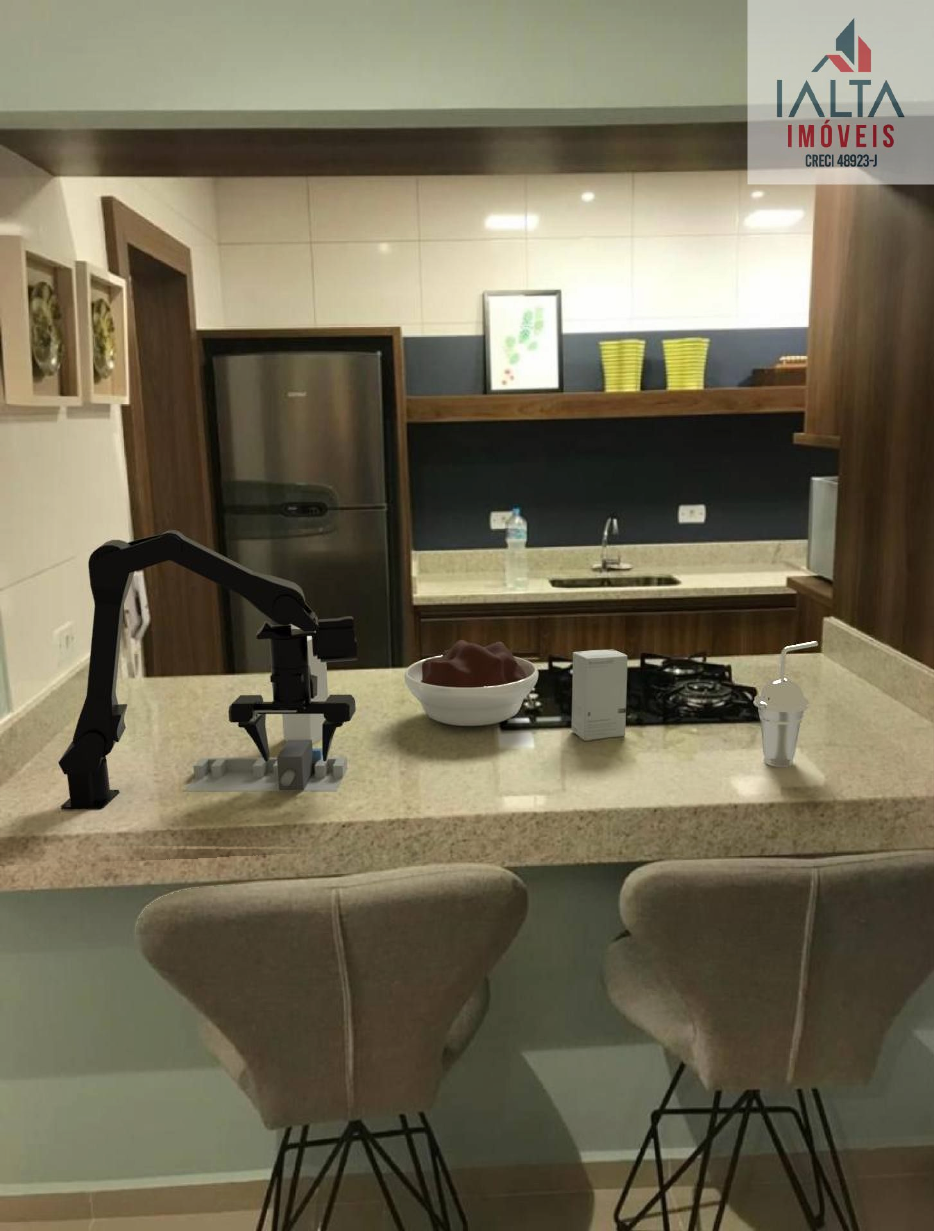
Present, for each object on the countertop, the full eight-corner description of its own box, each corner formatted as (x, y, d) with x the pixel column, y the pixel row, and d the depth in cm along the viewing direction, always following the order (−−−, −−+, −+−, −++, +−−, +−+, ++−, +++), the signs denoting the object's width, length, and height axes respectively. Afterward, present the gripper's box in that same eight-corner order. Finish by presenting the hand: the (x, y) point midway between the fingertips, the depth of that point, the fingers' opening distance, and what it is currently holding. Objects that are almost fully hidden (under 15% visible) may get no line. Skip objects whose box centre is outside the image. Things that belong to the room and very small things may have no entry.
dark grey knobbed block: (299, 798, 142) (297, 763, 141) (274, 798, 142) (272, 763, 141) (313, 771, 152) (311, 739, 151) (290, 772, 152) (288, 739, 151)
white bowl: (378, 719, 179) (375, 642, 175) (473, 690, 195) (471, 619, 192) (470, 751, 161) (468, 665, 158) (566, 716, 178) (566, 638, 174)
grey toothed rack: (336, 792, 145) (335, 769, 144) (183, 792, 146) (180, 769, 145) (347, 770, 153) (346, 748, 153) (202, 770, 155) (200, 748, 154)
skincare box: (584, 742, 164) (584, 659, 161) (570, 731, 170) (570, 651, 166) (627, 736, 166) (629, 654, 163) (612, 725, 172) (613, 646, 169)
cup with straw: (756, 749, 158) (761, 633, 154) (813, 757, 154) (820, 638, 150) (746, 766, 151) (751, 645, 147) (805, 775, 147) (812, 651, 143)
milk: (283, 741, 168) (274, 620, 163) (303, 731, 173) (295, 613, 168) (312, 746, 165) (303, 623, 160) (331, 735, 170) (323, 616, 166)
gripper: (359, 650, 152) (363, 742, 155) (244, 651, 153) (251, 742, 156) (346, 669, 141) (351, 767, 144) (223, 670, 142) (231, 767, 146)
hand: (296, 760), depth 148 cm, fingers open, 9 cm apart
